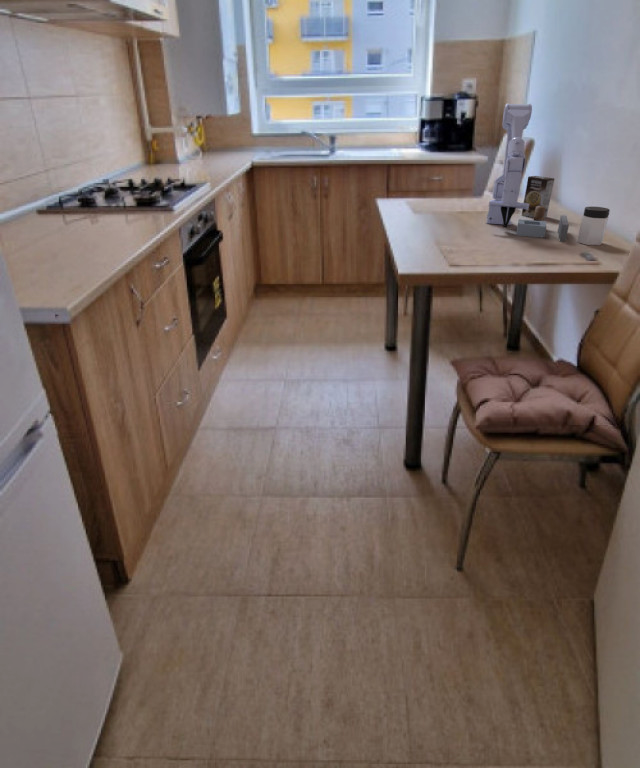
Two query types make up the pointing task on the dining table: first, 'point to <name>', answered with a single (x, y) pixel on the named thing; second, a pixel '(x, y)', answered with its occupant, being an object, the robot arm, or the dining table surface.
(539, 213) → the dowel
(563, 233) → the wall
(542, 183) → the coffee box
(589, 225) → the jar
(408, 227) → the dining table surface
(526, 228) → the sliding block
